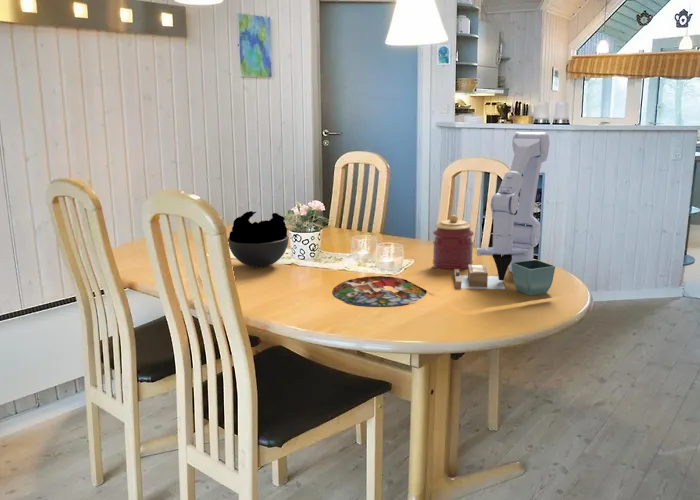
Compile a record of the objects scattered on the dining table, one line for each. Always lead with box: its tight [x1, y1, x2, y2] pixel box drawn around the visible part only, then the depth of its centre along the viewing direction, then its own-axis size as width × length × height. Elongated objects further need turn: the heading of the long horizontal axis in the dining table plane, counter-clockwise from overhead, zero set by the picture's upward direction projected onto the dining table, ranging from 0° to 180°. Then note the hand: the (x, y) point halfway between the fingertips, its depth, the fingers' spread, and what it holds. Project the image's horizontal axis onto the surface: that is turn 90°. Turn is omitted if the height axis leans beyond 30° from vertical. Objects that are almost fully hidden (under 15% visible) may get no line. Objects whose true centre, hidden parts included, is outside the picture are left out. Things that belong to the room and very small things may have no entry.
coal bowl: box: [227, 210, 290, 268], centre depth 217 cm, size 20×20×19 cm
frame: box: [467, 264, 489, 287], centre depth 193 cm, size 10×5×4 cm, turn 173°
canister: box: [432, 214, 475, 271], centre depth 212 cm, size 13×13×18 cm
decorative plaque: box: [331, 275, 428, 307], centre depth 190 cm, size 30×3×30 cm
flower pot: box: [511, 259, 556, 296], centre depth 183 cm, size 9×9×9 cm
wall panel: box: [453, 269, 506, 290], centre depth 194 cm, size 14×14×4 cm
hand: (501, 279), depth 193 cm, fingers closed
